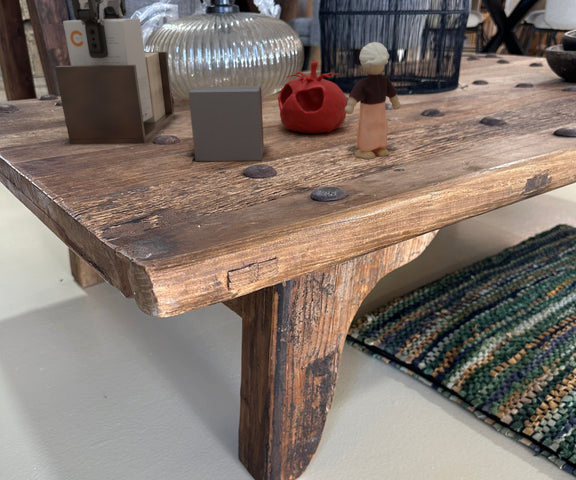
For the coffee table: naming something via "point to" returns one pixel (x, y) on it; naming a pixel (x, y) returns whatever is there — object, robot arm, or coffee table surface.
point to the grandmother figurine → (372, 102)
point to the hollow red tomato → (312, 103)
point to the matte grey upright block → (227, 123)
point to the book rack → (114, 101)
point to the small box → (113, 51)
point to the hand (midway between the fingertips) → (108, 54)
